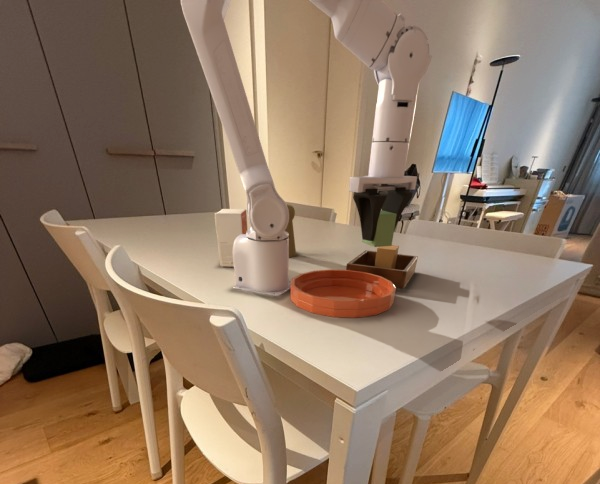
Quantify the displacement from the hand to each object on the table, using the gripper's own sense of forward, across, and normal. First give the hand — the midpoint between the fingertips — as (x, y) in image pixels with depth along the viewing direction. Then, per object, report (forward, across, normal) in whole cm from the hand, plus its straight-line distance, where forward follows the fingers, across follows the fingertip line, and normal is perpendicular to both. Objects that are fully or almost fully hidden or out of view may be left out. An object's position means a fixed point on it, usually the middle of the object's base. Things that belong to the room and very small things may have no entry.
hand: (377, 238), depth 60 cm
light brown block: (+8, -8, -4) cm, 12 cm away
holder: (+8, -6, -2) cm, 11 cm away
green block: (+1, 0, 0) cm, 1 cm away
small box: (+9, +13, -30) cm, 34 cm away
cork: (+9, -2, -30) cm, 32 cm away
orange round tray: (+8, +11, +3) cm, 14 cm away
